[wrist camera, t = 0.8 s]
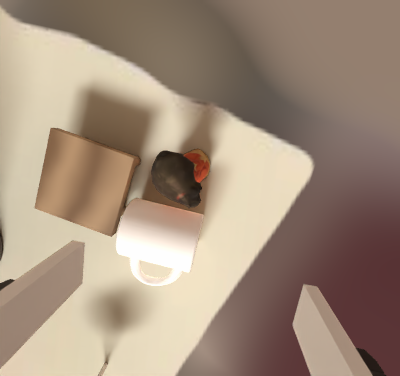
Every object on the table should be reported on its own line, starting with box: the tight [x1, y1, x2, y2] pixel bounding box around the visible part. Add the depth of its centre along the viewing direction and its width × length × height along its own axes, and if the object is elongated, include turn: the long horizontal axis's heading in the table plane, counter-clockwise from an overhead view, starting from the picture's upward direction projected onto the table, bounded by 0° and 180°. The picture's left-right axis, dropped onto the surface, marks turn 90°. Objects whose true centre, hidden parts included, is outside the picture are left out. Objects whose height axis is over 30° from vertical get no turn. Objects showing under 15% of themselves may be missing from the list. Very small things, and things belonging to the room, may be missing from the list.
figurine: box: [151, 149, 210, 208], centre depth 30 cm, size 6×6×12 cm
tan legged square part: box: [35, 128, 141, 237], centre depth 35 cm, size 11×11×6 cm
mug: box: [116, 198, 204, 286], centre depth 35 cm, size 12×10×8 cm
